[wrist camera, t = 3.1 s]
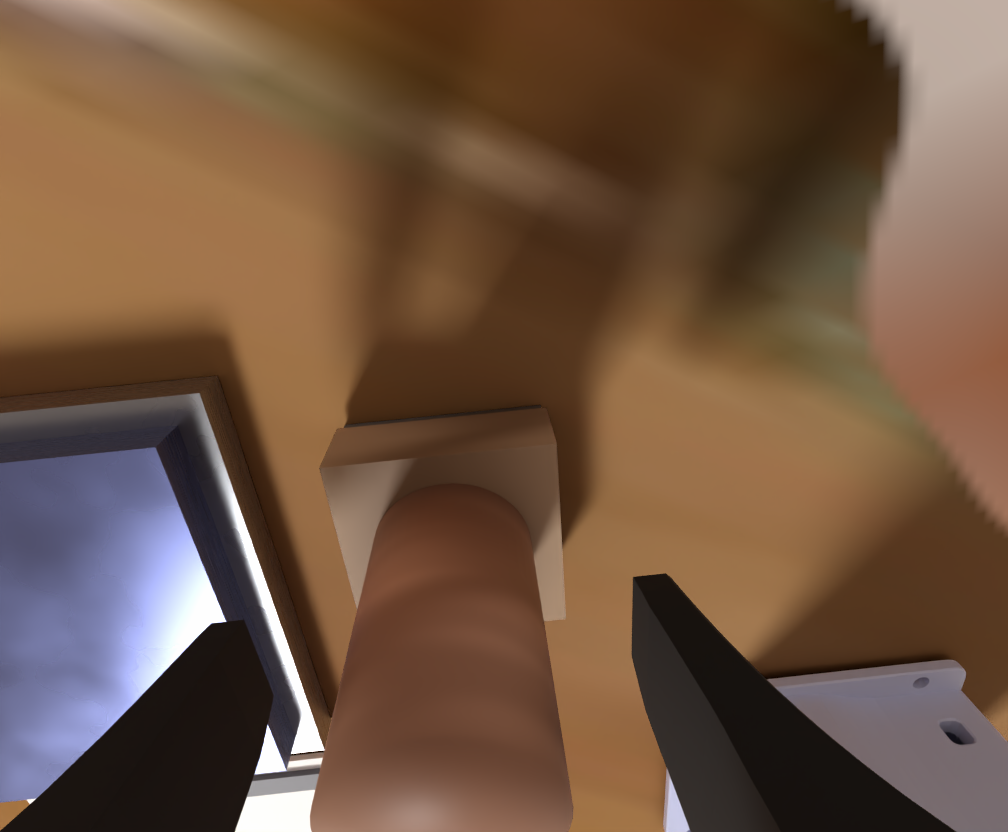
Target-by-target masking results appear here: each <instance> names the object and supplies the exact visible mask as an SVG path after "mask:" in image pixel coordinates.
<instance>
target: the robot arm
mask: <svg viewBox="0 0 1008 832" xmlns="http://www.w3.org/2000/svg"><path fill="white" fill-rule="evenodd" d="M632 659H633V663H634V667H635V671H636V675H637V679H638V683H639V687H640V691H641V694H642V698H643V702H644V706H645V710H646V713H647V715H648V718H649V721H650V724H651V727H652V729H653V732H654V735H655V737H656V740H657V743H658V746H659V748H660V751H661V754H662V756H663V759H664V762H665V764H666V767H667V774H666V790H665V806H664V822H663V827H664V830H665V832H1008V742H1007V741H1006V740H1005V739H1004V737H1003V736H1002V735H1001V734H1000V733H999V732H998V731H997V730H996V729H995V727H994V726H993V725H992V724H991V723H990V722H989V721H988V720H987V719H986V717H985V716H984V715H983V714H982V713H981V712H980V711H979V710H978V708H977V707H976V706H975V705H974V704H973V703H972V702H971V701H970V700H969V698H968V697H967V696H966V695H965V694H964V693H963V692H962V691H961V688H962V686H963V683H964V681H965V678H966V671H965V670H964V669H963V668H962V666H961V665H960V664H959V663H958V662H957V661H954V660H937V661H928V662H919V663H910V664H901V665H892V666H882V667H873V668H864V669H855V670H846V671H837V672H828V673H819V674H810V675H800V676H791V677H782V678H773V679H766V678H765V677H764V676H763V675H762V674H761V673H759V672H758V671H757V670H756V669H755V668H754V667H753V666H752V665H751V664H750V663H749V662H748V661H747V660H746V659H745V658H744V657H743V656H742V655H741V654H740V653H739V652H738V651H737V650H736V648H735V647H734V646H733V645H732V644H731V643H730V642H729V641H728V640H727V639H726V638H725V637H724V636H723V635H722V634H721V633H720V632H719V631H718V630H717V629H716V628H715V627H714V626H713V624H712V623H711V622H710V621H709V620H708V619H707V618H706V617H705V616H704V615H703V614H702V613H701V611H700V610H699V609H698V608H697V607H696V606H695V605H694V604H693V602H692V601H691V600H690V599H689V598H688V597H687V596H686V595H685V593H684V592H683V591H682V590H681V589H680V588H679V586H678V585H677V584H676V583H675V582H674V581H673V579H672V578H671V577H669V576H668V575H667V574H657V575H647V576H638V577H633V611H632ZM273 697H274V695H273V692H272V690H271V687H270V685H269V682H268V679H267V677H266V674H265V672H264V669H263V667H262V664H261V661H260V659H259V656H258V654H257V651H256V649H255V646H254V643H253V641H252V638H251V636H250V633H249V631H248V628H247V625H246V623H245V620H236V621H227V622H218V623H211V624H210V625H209V626H208V627H207V628H206V629H205V630H204V631H203V632H202V633H201V634H200V635H199V636H198V637H197V638H196V639H195V640H194V641H193V642H192V643H191V644H190V645H189V646H188V647H187V648H186V649H185V650H184V651H183V652H182V653H181V655H180V656H179V657H178V658H177V659H176V660H175V661H174V662H173V663H172V664H171V665H170V666H169V667H168V668H167V669H166V670H165V671H164V672H163V673H162V675H161V676H160V677H159V678H158V679H157V680H156V681H155V682H154V683H153V684H152V685H151V686H150V687H149V688H148V689H147V690H146V691H145V692H144V693H143V694H142V695H141V696H140V697H139V698H138V699H137V700H136V701H135V703H134V704H133V705H132V706H131V707H130V708H129V709H128V710H127V711H126V712H125V713H124V714H123V715H122V716H121V717H120V718H119V719H118V720H117V721H116V722H115V723H114V724H113V725H112V726H111V727H110V728H109V729H108V730H107V731H106V732H105V733H104V734H103V735H102V736H101V737H100V738H99V739H98V740H97V741H96V742H95V743H94V744H93V745H92V746H91V747H90V748H89V749H88V750H87V751H86V752H84V753H83V754H82V755H81V756H80V757H79V758H78V759H77V760H76V761H75V762H74V763H73V764H72V765H71V766H70V767H69V768H68V769H67V770H66V771H65V772H64V773H63V774H62V775H61V776H60V777H59V778H58V779H57V780H55V781H54V782H53V783H52V784H51V785H50V786H49V787H48V788H47V789H46V790H45V791H44V792H43V793H42V794H41V795H40V796H39V797H37V798H36V799H35V800H34V801H33V802H32V803H31V804H30V805H29V806H28V807H27V808H25V809H24V810H23V811H22V812H21V813H20V814H19V815H18V816H16V817H15V818H14V819H13V820H12V821H11V822H10V823H9V824H8V825H6V826H5V827H4V828H3V829H2V830H1V831H0V832H235V830H236V827H237V824H238V821H239V819H240V816H241V813H242V810H243V807H244V804H245V801H246V798H247V795H248V792H249V789H250V786H251V783H252V780H253V777H254V774H255V771H256V768H257V765H258V762H259V759H260V756H261V752H262V748H263V744H264V740H265V735H266V731H267V726H268V722H269V717H270V712H271V707H272V702H273Z"/></svg>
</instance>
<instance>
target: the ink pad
mask: <svg viewBox="0 0 1008 832" xmlns="http://www.w3.org/2000/svg"><path fill="white" fill-rule="evenodd" d="M236 620H245V623H246V625H247V628H248V631H249V633H250V636H251V638H252V641H253V643H254V646H255V649H256V651H257V654H258V656H259V659H260V661H261V664H262V667H263V669H264V672H265V674H266V677H267V679H268V682H269V685H270V687H271V690H272V692H273V695H274V697H273V702H272V707H271V712H270V717H269V722H268V726H267V731H266V735H265V740H264V744H263V748H262V752H261V756H260V759H259V762H258V765H257V768H256V771H255V774H262V773H271V772H280V771H286V770H287V767H288V763H289V760H290V756H291V754H294V753H303V752H312V751H321V750H324V749H325V745H326V741H327V736H328V732H329V728H330V723H331V718H330V715H329V712H328V709H327V706H326V703H325V700H324V697H323V694H322V691H321V688H320V685H319V682H318V679H317V676H316V673H315V670H314V667H313V664H312V660H311V657H310V654H309V651H308V648H307V645H306V642H305V639H304V636H303V633H302V630H301V627H300V624H299V621H298V618H297V615H296V612H295V609H294V606H293V603H292V600H291V597H290V594H289V591H288V588H287V585H286V582H285V579H284V576H283V572H282V569H281V566H280V563H279V560H278V557H277V554H276V551H275V548H274V545H273V542H272V539H271V536H270V533H269V530H268V527H267V524H266V521H265V518H264V515H263V512H262V509H261V506H260V503H259V500H258V497H257V494H256V491H255V488H254V484H253V481H252V478H251V475H250V472H249V469H248V466H247V463H246V460H245V457H244V454H243V451H242V448H241V445H240V442H239V439H238V436H237V433H236V430H235V427H234V424H233V421H232V418H231V415H230V412H229V409H228V406H227V403H226V400H225V396H224V393H223V390H222V387H221V384H220V381H219V378H218V376H211V377H201V378H191V379H181V380H171V381H161V382H151V383H142V384H132V385H122V386H112V387H102V388H92V389H82V390H72V391H62V392H52V393H43V394H33V395H23V396H13V397H3V398H0V802H9V801H18V800H27V799H36V798H37V797H39V796H40V795H41V794H42V793H43V792H44V791H45V790H46V789H47V788H48V787H49V786H50V785H51V784H52V783H53V782H54V781H55V780H57V779H58V778H59V777H60V776H61V775H62V774H63V773H64V772H65V771H66V770H67V769H68V768H69V767H70V766H71V765H72V764H73V763H74V762H75V761H76V760H77V759H78V758H79V757H80V756H81V755H82V754H83V753H84V752H86V751H87V750H88V749H89V748H90V747H91V746H92V745H93V744H94V743H95V742H96V741H97V740H98V739H99V738H100V737H101V736H102V735H103V734H104V733H105V732H106V731H107V730H108V729H109V728H110V727H111V726H112V725H113V724H114V723H115V722H116V721H117V720H118V719H119V718H120V717H121V716H122V715H123V714H124V713H125V712H126V711H127V710H128V709H129V708H130V707H131V706H132V705H133V704H134V703H135V701H136V700H137V699H138V698H139V697H140V696H141V695H142V694H143V693H144V692H145V691H146V690H147V689H148V688H149V687H150V686H151V685H152V684H153V683H154V682H155V681H156V680H157V679H158V678H159V677H160V676H161V675H162V673H163V672H164V671H165V670H166V669H167V668H168V667H169V666H170V665H171V664H172V663H173V662H174V661H175V660H176V659H177V658H178V657H179V656H180V655H181V653H182V652H183V651H184V650H185V649H186V648H187V647H188V646H189V645H190V644H191V643H192V642H193V641H194V640H195V639H196V638H197V637H198V636H199V635H200V634H201V633H202V632H203V631H204V630H205V629H206V628H207V627H208V626H209V625H210V624H211V623H218V622H227V621H236Z"/></svg>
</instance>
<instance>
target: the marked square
mask: <svg viewBox="0 0 1008 832" xmlns="http://www.w3.org/2000/svg"><path fill="white" fill-rule="evenodd" d="M323 754H324V752H319V753H310V754H301V755H292V756H290V760H289V763H288V767H287V770H286V771H280V772H271V773H262V774H254V777H253V780H252V783H251V786H250V789H249V792H248V795H247V798H246V801H245V804H244V807H243V810H242V813H241V816H240V819H239V821H238V824H237V827H236V830H235V832H312V831H311V827H310V812H311V806H312V801H313V797H314V793H315V789H316V784H317V780H318V776H319V772H320V767H321V763H322V759H323ZM34 800H35V799H27V801H28V802H29V803H30V804H31V803H32V802H33V801H34Z"/></svg>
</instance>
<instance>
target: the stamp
mask: <svg viewBox="0 0 1008 832" xmlns="http://www.w3.org/2000/svg"><path fill="white" fill-rule="evenodd" d="M319 469H320V473H321V476H322V480H323V484H324V488H325V491H326V495H327V499H328V503H329V506H330V510H331V514H332V518H333V521H334V525H335V529H336V533H337V536H338V540H339V544H340V548H341V551H342V555H343V559H344V563H345V566H346V570H347V574H348V578H349V581H350V585H351V589H352V593H353V596H354V600H355V604H356V608H357V614H356V618H355V622H354V626H353V631H352V635H351V639H350V643H349V648H348V652H347V656H346V661H345V665H344V669H343V673H342V678H341V682H340V686H339V690H338V695H337V699H336V703H335V708H334V712H333V716H332V720H331V725H330V729H329V733H328V737H327V742H326V746H325V750H324V754H323V759H322V763H321V767H320V772H319V776H318V780H317V784H316V789H315V793H314V797H313V801H312V806H311V812H310V827H311V831H312V832H568V831H569V829H570V826H571V822H572V819H573V803H572V797H571V790H570V784H569V777H568V771H567V765H566V758H565V752H564V746H563V739H562V733H561V727H560V720H559V714H558V708H557V701H556V695H555V689H554V682H553V676H552V670H551V663H550V657H549V650H548V644H547V638H546V631H545V625H544V621H552V620H561V619H566V612H565V593H564V573H563V554H562V535H561V515H560V496H559V476H558V457H557V443H556V439H555V436H554V432H553V429H552V425H551V422H550V418H549V415H548V412H547V408H546V407H545V408H541V405H535V406H525V407H515V408H506V409H496V410H486V411H476V412H467V413H457V414H447V415H437V416H428V417H418V418H408V419H398V420H388V421H379V422H369V423H359V424H349V425H345V426H344V428H340V429H337V430H336V432H335V434H334V437H333V439H332V441H331V443H330V445H329V448H328V450H327V452H326V454H325V457H324V459H323V461H322V463H321V465H320V468H319Z"/></svg>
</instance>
